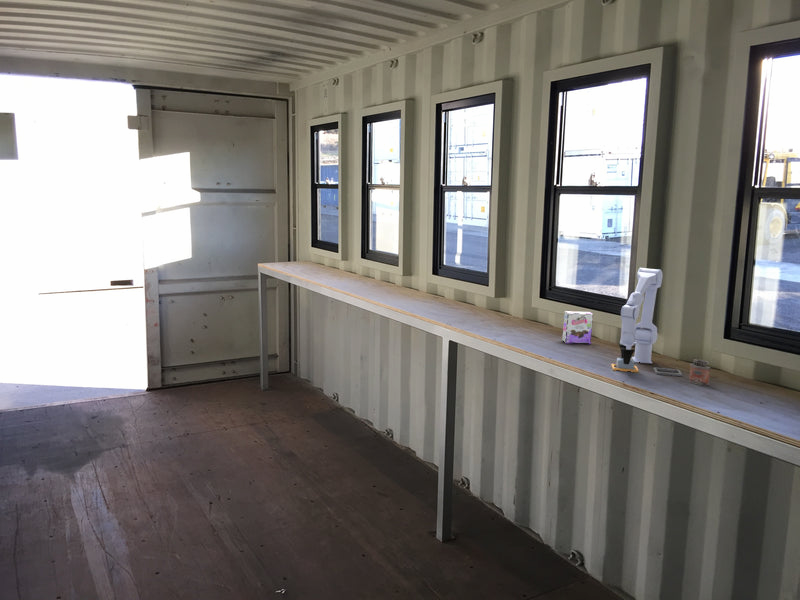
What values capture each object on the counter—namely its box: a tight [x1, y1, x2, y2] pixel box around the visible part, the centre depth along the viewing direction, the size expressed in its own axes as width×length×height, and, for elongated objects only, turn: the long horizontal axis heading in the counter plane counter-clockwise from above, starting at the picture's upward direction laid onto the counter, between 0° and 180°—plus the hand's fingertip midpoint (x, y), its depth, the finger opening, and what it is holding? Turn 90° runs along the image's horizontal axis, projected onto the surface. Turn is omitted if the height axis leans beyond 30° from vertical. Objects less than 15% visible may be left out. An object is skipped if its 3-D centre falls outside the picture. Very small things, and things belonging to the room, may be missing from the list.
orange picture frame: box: [610, 363, 639, 373], centre depth 285 cm, size 8×11×1 cm
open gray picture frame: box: [652, 367, 683, 377], centre depth 281 cm, size 8×11×1 cm
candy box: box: [561, 310, 594, 345], centre depth 337 cm, size 14×6×16 cm, turn 92°
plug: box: [615, 357, 636, 370], centre depth 285 cm, size 4×7×5 cm, turn 77°
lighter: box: [688, 358, 711, 386], centre depth 266 cm, size 8×3×10 cm, turn 40°
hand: (625, 361), depth 285 cm, fingers open, 7 cm apart
